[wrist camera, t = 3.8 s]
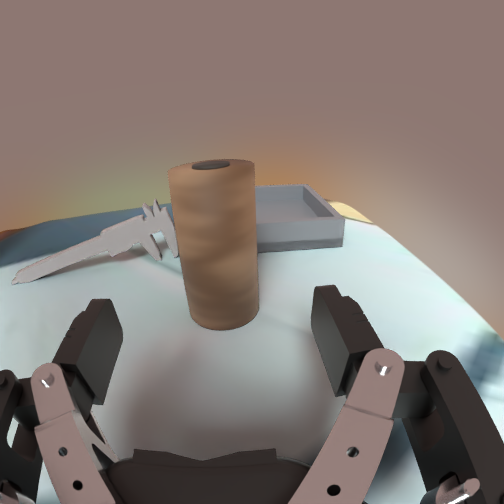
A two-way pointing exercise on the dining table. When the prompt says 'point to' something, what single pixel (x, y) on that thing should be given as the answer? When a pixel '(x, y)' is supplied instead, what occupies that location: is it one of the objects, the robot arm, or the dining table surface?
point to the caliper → (110, 243)
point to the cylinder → (217, 240)
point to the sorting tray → (295, 219)
